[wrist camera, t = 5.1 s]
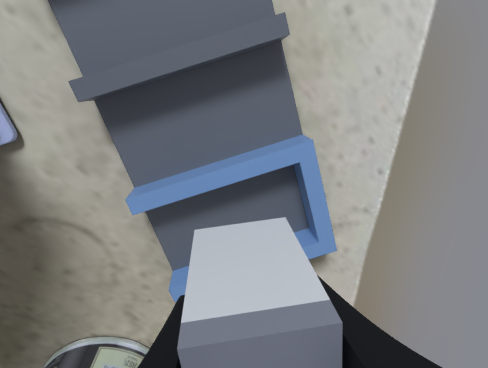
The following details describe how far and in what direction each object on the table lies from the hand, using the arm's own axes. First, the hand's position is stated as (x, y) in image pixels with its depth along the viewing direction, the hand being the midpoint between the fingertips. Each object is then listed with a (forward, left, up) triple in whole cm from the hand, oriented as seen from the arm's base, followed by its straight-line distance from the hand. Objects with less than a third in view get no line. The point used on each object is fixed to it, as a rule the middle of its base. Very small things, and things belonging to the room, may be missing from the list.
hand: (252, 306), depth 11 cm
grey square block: (0, 0, -2) cm, 2 cm away
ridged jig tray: (0, +7, -9) cm, 11 cm away
